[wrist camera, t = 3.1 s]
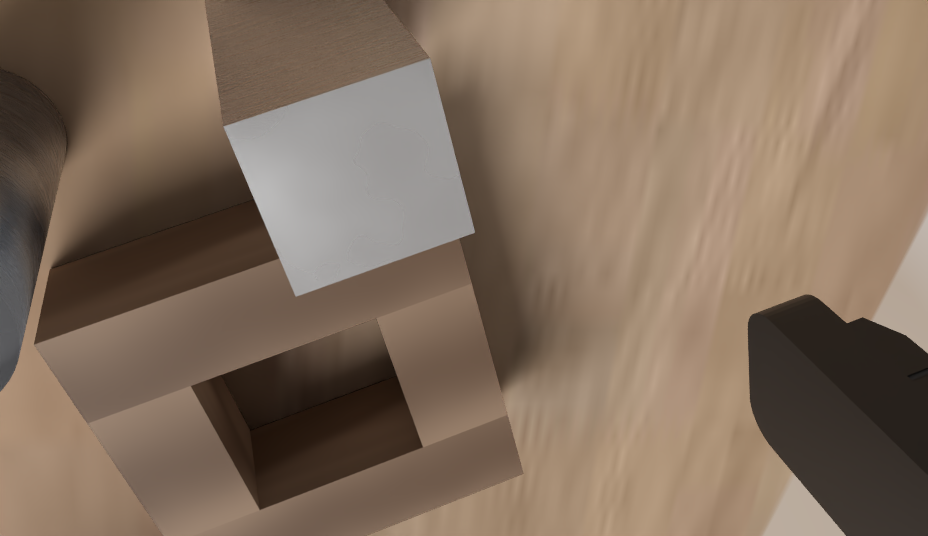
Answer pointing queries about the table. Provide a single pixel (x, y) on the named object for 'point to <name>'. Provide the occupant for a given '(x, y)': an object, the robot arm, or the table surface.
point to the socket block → (259, 337)
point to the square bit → (336, 133)
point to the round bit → (24, 202)
